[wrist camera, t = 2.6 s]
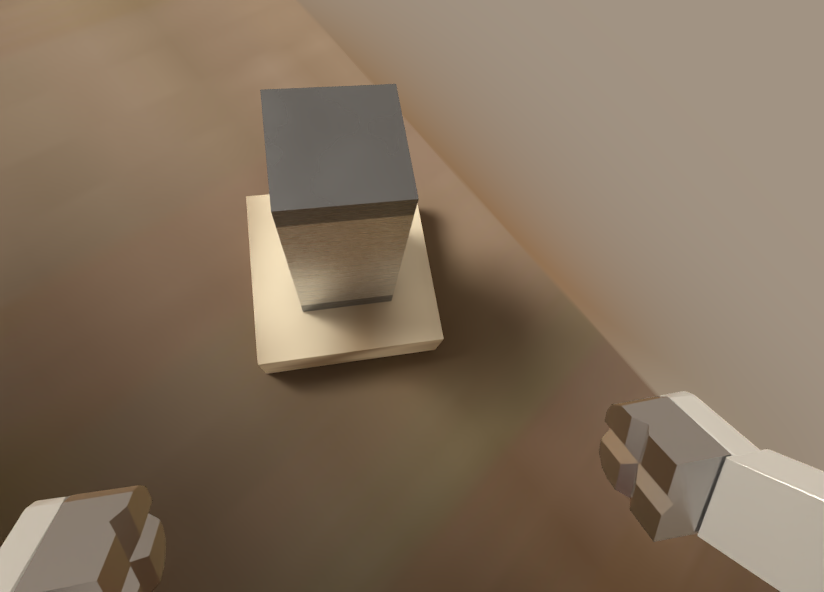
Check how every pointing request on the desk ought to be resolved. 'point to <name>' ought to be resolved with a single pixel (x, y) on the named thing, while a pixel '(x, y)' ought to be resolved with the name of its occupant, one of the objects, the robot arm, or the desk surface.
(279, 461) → the desk surface
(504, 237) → the desk surface
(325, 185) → the block
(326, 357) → the stand
